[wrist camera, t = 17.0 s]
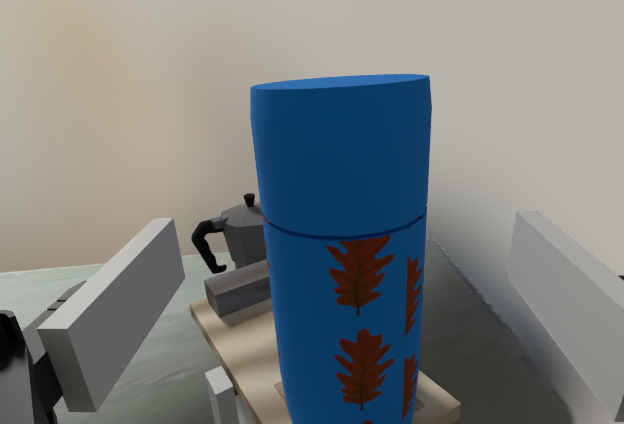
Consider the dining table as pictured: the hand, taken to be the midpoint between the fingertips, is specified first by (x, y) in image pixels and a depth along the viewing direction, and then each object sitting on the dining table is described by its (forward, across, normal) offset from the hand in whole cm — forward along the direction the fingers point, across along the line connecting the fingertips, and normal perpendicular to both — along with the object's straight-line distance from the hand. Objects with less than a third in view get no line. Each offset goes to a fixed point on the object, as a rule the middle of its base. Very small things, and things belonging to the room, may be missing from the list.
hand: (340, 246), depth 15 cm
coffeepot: (+37, -13, -29) cm, 49 cm away
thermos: (+11, 0, -20) cm, 23 cm away
